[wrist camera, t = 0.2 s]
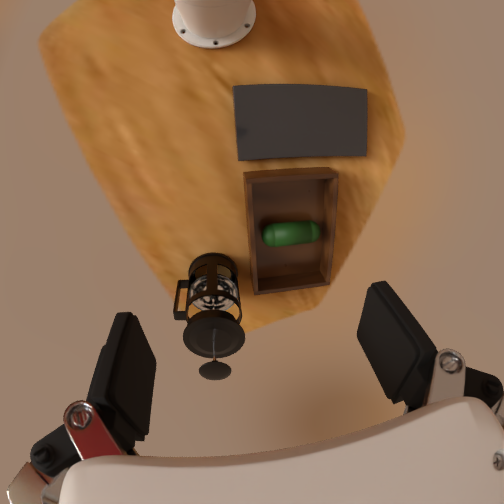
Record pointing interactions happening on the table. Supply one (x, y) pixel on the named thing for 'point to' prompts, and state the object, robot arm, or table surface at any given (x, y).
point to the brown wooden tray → (289, 210)
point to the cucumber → (290, 233)
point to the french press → (211, 314)
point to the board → (299, 121)
